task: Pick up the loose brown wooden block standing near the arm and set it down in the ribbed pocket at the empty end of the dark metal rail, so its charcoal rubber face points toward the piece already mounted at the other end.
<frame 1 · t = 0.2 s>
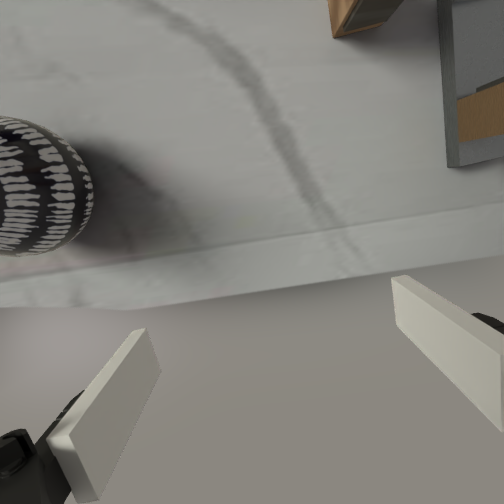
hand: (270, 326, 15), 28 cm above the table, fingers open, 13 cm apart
vase: (58, 188, 41), on the table
rail: (464, 45, 36), on the table
brown wooden block: (353, 9, 35), on the table
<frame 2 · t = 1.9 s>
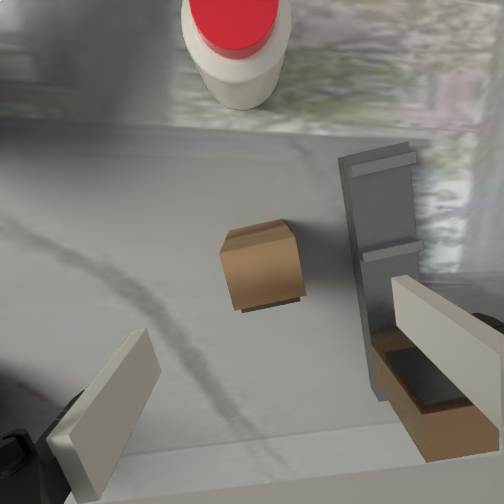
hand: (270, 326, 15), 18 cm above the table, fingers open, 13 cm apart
pill bottle: (241, 67, 28), on the table
rail: (381, 279, 33), on the table
brown wooden block: (260, 246, 32), on the table
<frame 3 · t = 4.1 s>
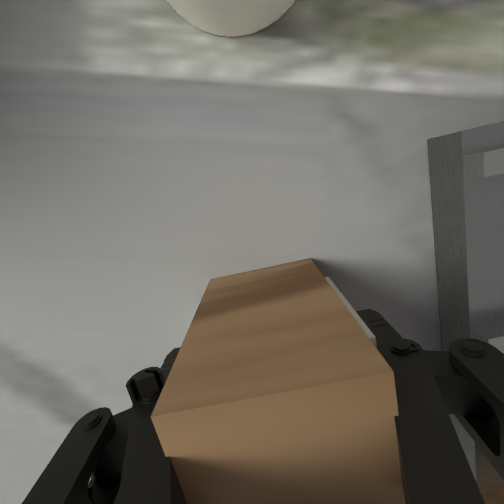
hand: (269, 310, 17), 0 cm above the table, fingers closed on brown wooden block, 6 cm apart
rail: (491, 365, 18), on the table
brown wooden block: (268, 307, 17), on the table, touching gripper
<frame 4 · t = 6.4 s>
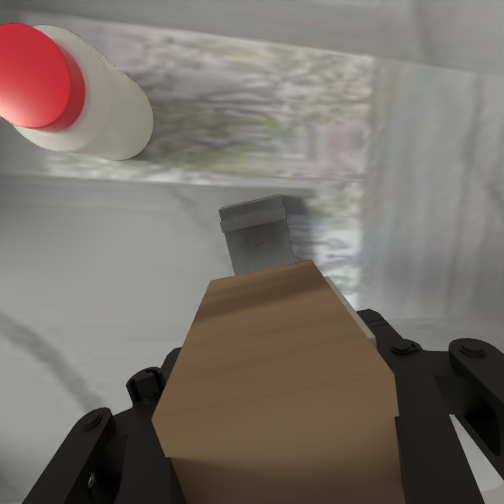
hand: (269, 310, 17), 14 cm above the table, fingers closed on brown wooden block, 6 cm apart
pill bottle: (114, 118, 27), on the table
rail: (278, 326, 32), on the table
brown wooden block: (268, 308, 17), point 14 cm above the table, touching gripper
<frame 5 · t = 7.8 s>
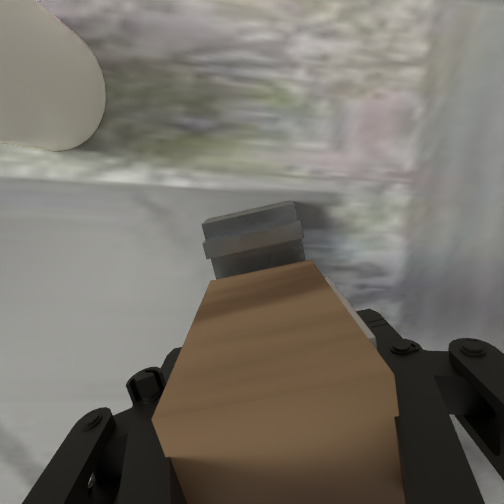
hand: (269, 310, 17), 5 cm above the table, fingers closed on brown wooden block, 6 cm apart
pill bottle: (48, 89, 19), on the table
rail: (286, 380, 24), on the table
brown wooden block: (268, 308, 17), point 5 cm above the table, touching gripper
when the fingers open (4 cm above the table, at t = 8.8 s): brown wooden block stays where it is, resting on rail.
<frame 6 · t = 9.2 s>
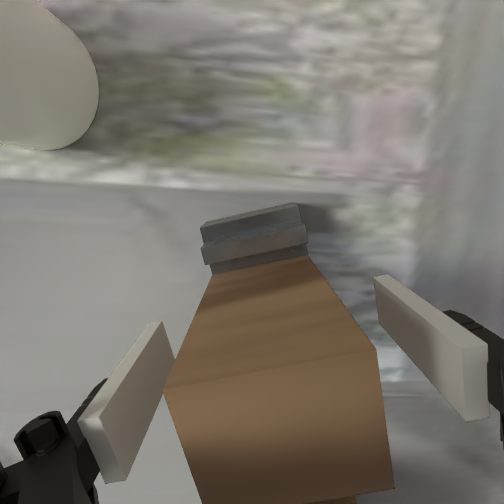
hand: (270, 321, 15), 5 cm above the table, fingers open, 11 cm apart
pill bottle: (38, 84, 18), on the table
rail: (289, 390, 23), on the table
brown wooden block: (267, 301, 18), point 2 cm above the table, touching rail
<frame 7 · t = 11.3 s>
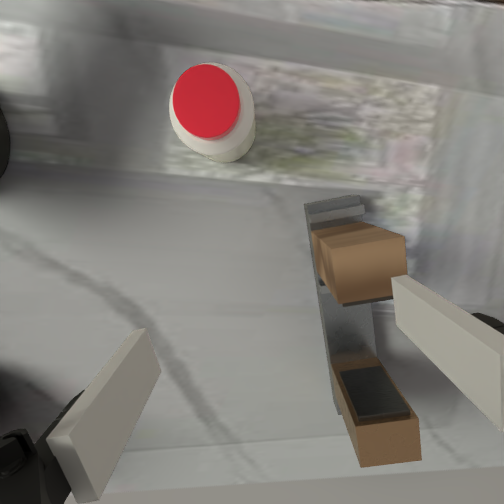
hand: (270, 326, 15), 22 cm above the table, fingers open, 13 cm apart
pill bottle: (223, 129, 34), on the table
rail: (342, 307, 38), on the table
brown wooden block: (338, 246, 34), point 2 cm above the table, touching rail
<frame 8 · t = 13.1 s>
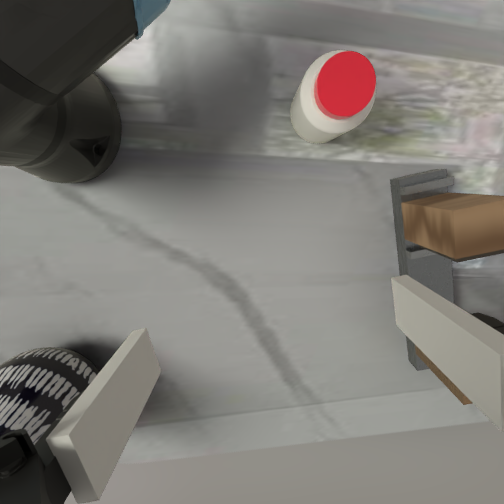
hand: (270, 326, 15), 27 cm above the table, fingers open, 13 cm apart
vase: (73, 372, 47), on the table
pill bottle: (319, 112, 37), on the table
rail: (420, 273, 42), on the table
brown wooden block: (425, 216, 38), point 2 cm above the table, touching rail
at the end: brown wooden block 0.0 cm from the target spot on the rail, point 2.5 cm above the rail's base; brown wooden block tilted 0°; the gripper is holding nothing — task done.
